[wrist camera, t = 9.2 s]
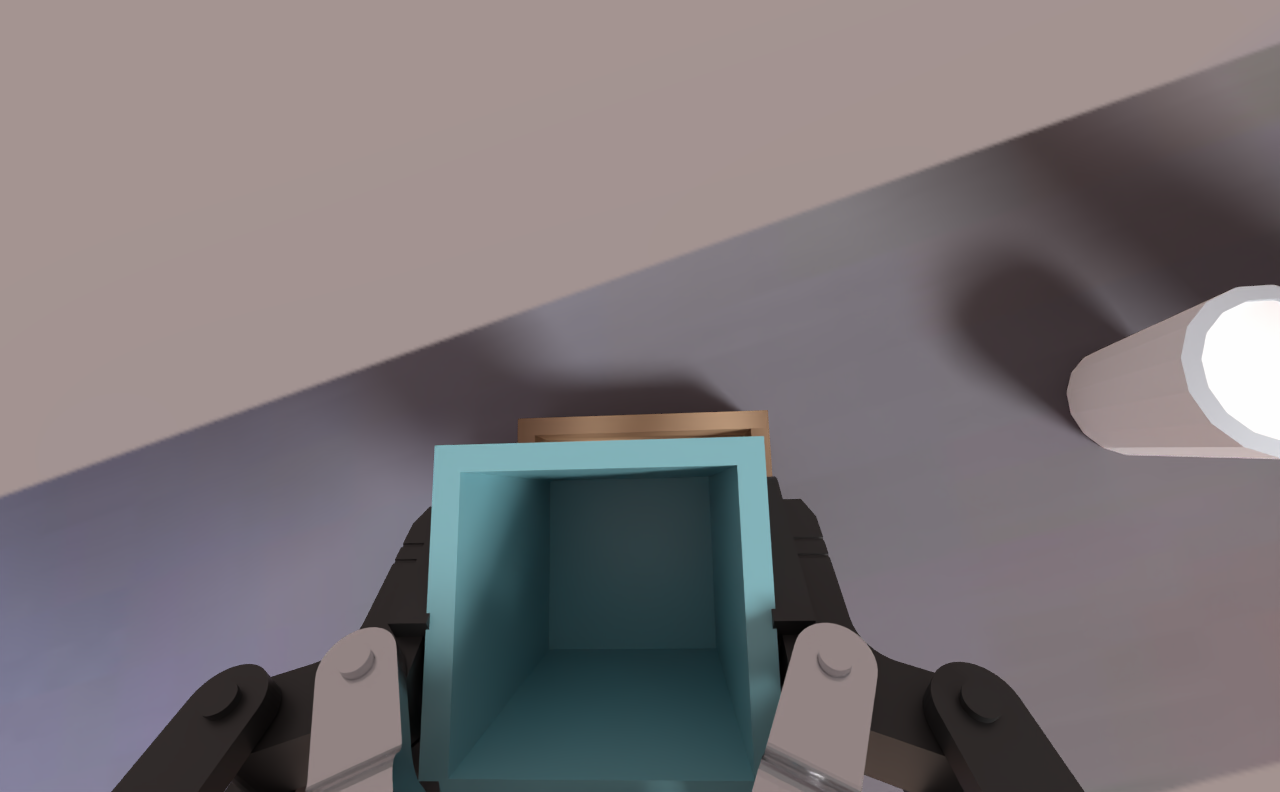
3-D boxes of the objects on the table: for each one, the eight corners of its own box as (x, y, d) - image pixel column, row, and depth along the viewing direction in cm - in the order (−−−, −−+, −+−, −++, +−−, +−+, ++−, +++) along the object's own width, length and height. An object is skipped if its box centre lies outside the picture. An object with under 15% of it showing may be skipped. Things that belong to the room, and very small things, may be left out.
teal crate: (721, 462, 17) (764, 435, 9) (731, 658, 16) (788, 816, 8) (541, 466, 17) (434, 445, 10) (539, 659, 16) (417, 812, 9)
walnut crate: (754, 421, 28) (767, 410, 24) (768, 644, 26) (785, 671, 22) (539, 428, 28) (517, 418, 24) (537, 646, 26) (513, 673, 22)
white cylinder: (1200, 477, 26) (1391, 472, 19) (1052, 457, 26) (1186, 445, 19) (1195, 343, 27) (1375, 293, 20) (1054, 327, 27) (1181, 273, 21)
